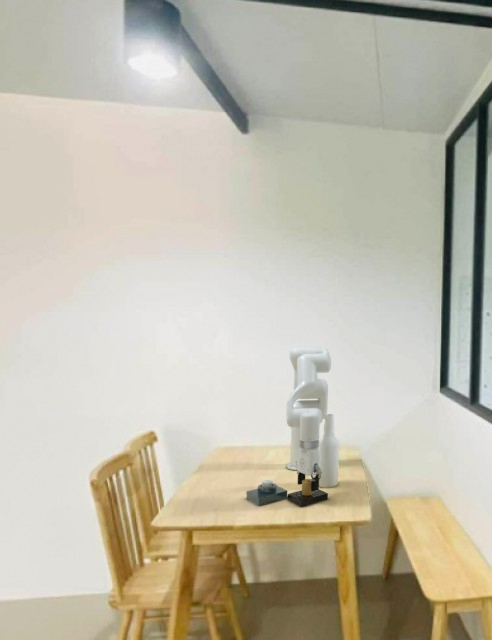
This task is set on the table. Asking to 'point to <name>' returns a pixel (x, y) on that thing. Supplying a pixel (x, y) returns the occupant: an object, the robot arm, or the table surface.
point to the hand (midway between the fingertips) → (308, 487)
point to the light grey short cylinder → (267, 484)
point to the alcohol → (329, 454)
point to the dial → (307, 487)
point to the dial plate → (307, 498)
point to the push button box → (266, 494)
